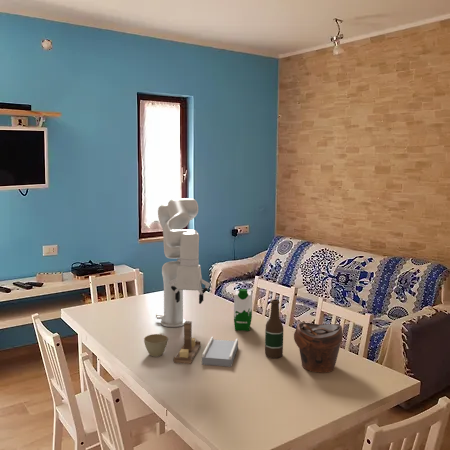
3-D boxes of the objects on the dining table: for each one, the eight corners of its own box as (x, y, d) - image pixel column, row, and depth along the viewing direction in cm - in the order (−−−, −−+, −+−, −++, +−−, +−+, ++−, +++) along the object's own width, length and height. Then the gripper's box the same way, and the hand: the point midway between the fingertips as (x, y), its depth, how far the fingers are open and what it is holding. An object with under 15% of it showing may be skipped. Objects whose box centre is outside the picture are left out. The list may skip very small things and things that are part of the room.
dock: (201, 364, 195) (201, 354, 195) (211, 345, 215) (211, 336, 214) (231, 366, 194) (231, 356, 193) (237, 347, 213) (238, 338, 213)
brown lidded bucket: (284, 361, 199) (286, 319, 197) (324, 354, 207) (327, 314, 205) (307, 380, 183) (310, 335, 181) (350, 372, 191) (353, 328, 188)
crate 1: (179, 358, 198) (179, 351, 197) (181, 355, 201) (181, 348, 200) (186, 359, 197) (186, 352, 197) (188, 356, 200) (188, 349, 200)
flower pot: (139, 357, 202) (139, 340, 201) (151, 348, 211) (151, 332, 210) (161, 360, 198) (161, 344, 197) (172, 351, 208) (172, 335, 207)
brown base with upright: (190, 363, 196) (190, 330, 194) (173, 362, 197) (173, 329, 195) (200, 346, 214) (200, 315, 212) (185, 345, 215) (185, 314, 213)
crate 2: (187, 346, 210) (187, 340, 210) (188, 344, 213) (188, 337, 213) (193, 347, 210) (193, 340, 210) (195, 344, 213) (195, 338, 212)
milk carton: (232, 331, 234) (233, 290, 231) (234, 324, 243) (235, 285, 240) (251, 331, 233) (252, 291, 230) (252, 325, 242) (252, 286, 239)
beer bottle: (284, 352, 208) (286, 298, 205) (280, 359, 201) (282, 303, 198) (267, 350, 211) (268, 296, 207) (262, 357, 203) (263, 301, 200)
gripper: (166, 263, 198) (166, 303, 200) (208, 265, 196) (207, 306, 198) (171, 259, 205) (171, 298, 208) (211, 261, 203) (211, 300, 205)
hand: (189, 302), depth 203 cm, fingers open, 9 cm apart
